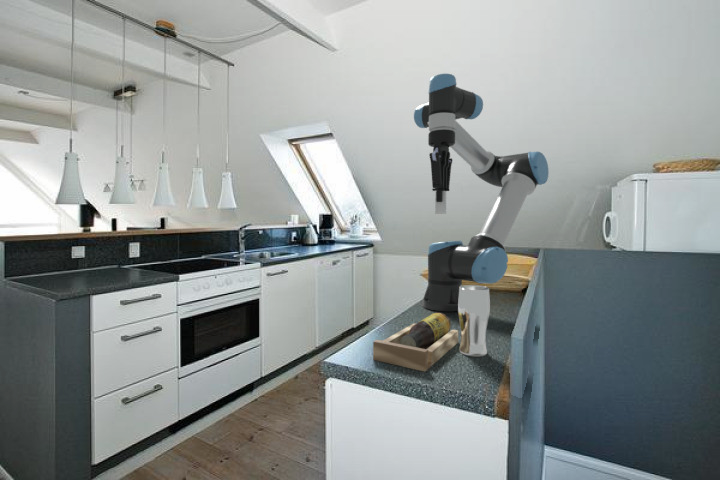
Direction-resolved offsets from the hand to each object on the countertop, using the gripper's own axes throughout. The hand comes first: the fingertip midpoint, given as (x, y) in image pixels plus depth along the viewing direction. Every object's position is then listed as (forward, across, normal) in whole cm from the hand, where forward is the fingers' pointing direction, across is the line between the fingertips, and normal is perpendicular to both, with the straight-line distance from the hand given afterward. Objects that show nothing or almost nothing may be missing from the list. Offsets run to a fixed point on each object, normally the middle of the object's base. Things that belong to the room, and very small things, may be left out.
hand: (440, 213), depth 108 cm
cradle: (+32, +25, +4) cm, 41 cm away
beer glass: (+33, +19, +15) cm, 41 cm away
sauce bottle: (+29, +10, +4) cm, 31 cm away
